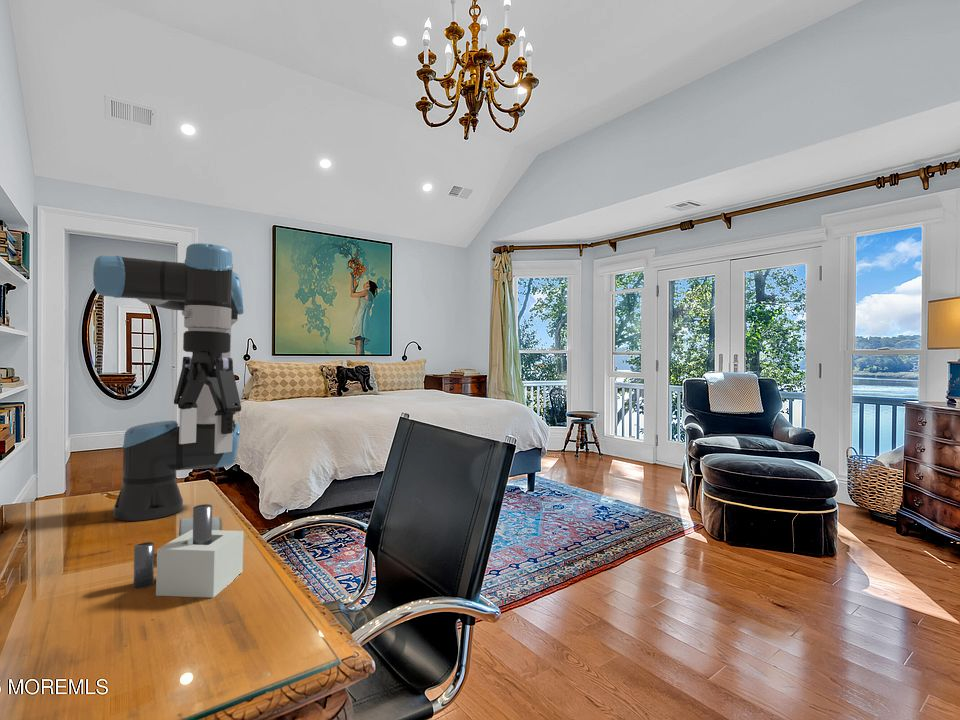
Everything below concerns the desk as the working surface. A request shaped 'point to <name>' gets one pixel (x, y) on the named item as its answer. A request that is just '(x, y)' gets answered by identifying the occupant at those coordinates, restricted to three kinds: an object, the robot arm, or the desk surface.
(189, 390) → the robot arm
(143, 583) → the short pin
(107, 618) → the desk surface
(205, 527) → the long pin
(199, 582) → the hole block
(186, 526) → the ceramic mug
